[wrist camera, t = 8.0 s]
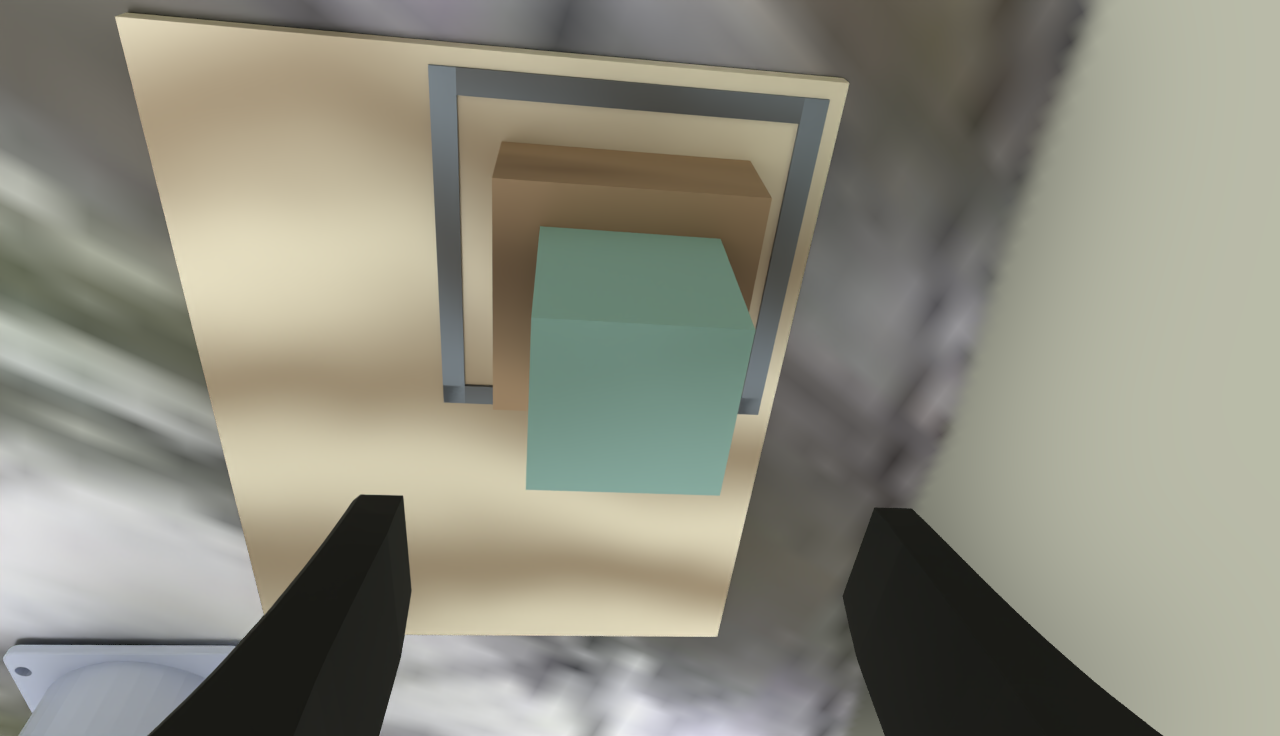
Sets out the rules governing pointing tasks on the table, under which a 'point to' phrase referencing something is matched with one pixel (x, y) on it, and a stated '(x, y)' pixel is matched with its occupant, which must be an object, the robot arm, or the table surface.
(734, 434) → the build board
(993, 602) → the robot arm
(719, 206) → the walnut slab
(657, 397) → the teal block
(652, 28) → the table surface
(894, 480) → the table surface
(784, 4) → the table surface
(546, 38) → the table surface
